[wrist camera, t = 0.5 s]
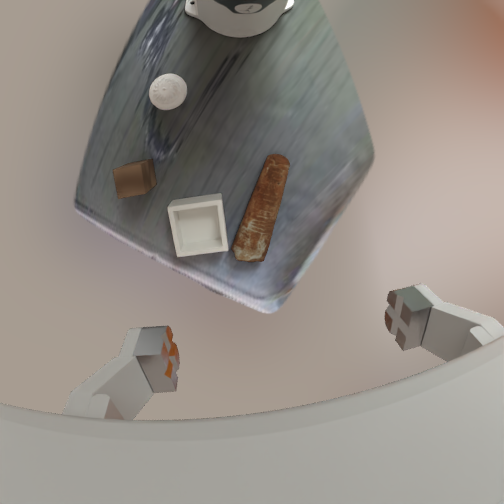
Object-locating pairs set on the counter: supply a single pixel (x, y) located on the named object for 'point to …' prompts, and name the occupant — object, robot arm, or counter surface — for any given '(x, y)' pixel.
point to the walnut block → (134, 178)
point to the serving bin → (198, 225)
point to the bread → (262, 211)
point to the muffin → (168, 91)
